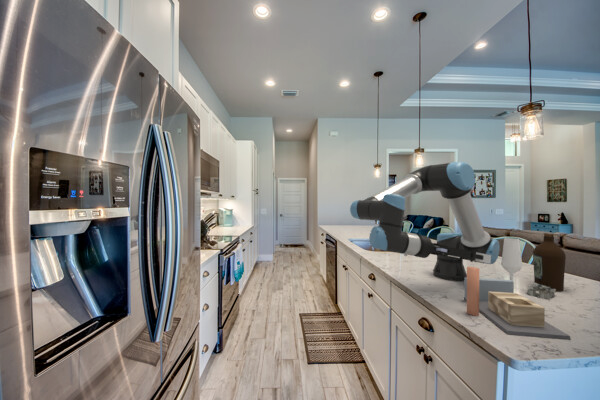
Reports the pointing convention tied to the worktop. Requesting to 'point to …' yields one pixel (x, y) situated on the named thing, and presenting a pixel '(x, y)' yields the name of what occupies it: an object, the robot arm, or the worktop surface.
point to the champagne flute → (511, 256)
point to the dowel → (473, 291)
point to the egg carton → (540, 291)
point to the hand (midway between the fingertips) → (473, 256)
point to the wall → (491, 287)
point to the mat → (545, 331)
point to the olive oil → (549, 264)
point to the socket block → (516, 309)
